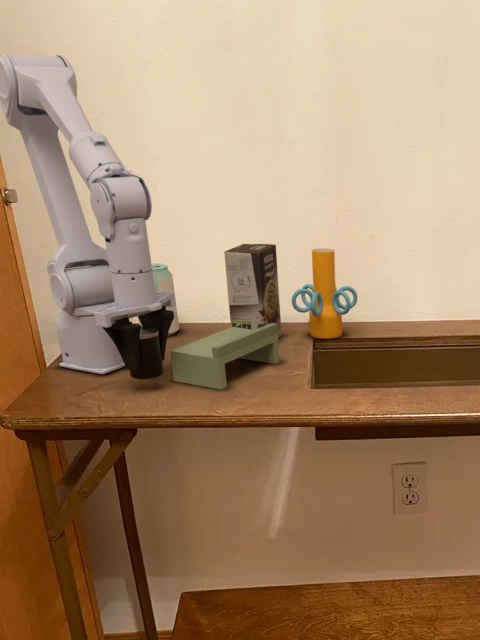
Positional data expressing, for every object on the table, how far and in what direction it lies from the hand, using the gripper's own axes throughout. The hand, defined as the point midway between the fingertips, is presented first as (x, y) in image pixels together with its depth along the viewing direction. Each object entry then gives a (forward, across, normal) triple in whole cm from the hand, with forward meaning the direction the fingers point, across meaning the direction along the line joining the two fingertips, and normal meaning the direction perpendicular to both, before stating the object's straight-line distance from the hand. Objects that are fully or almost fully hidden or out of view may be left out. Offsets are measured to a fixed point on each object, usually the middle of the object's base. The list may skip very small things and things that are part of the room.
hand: (145, 364), depth 119 cm
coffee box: (+4, +30, 0) cm, 30 cm away
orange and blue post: (+4, +38, -9) cm, 40 cm away
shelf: (+4, +12, -6) cm, 14 cm away
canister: (+2, 0, 0) cm, 2 cm away
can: (+4, +26, +19) cm, 32 cm away
